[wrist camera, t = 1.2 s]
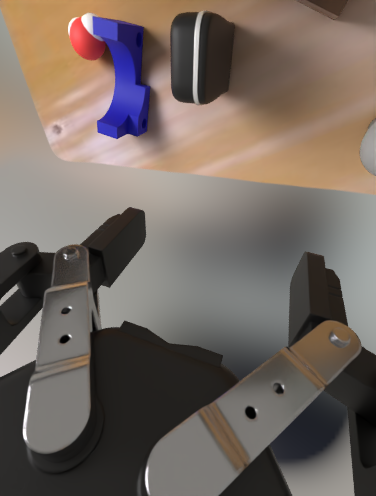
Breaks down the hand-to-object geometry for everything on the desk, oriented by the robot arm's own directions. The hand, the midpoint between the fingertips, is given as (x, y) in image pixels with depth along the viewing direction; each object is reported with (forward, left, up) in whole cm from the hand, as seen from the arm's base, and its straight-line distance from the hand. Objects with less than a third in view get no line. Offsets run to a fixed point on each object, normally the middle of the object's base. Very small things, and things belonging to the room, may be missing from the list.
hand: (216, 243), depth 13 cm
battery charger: (-10, 0, -27) cm, 29 cm away
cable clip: (-16, -10, -27) cm, 33 cm away
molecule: (-23, -10, -27) cm, 37 cm away
